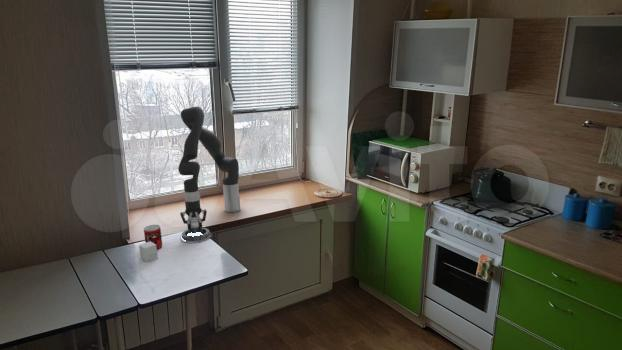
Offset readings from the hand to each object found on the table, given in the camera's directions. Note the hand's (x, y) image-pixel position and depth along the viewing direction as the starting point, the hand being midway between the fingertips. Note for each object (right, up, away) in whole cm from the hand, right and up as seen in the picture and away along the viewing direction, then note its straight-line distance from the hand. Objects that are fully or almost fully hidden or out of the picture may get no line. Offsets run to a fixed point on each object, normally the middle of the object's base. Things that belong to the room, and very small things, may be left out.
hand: (195, 229), depth 247 cm
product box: (-16, -12, -24) cm, 31 cm away
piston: (0, -1, 0) cm, 1 cm away
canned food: (-18, -8, -11) cm, 22 cm away
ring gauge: (0, -4, +1) cm, 4 cm away
